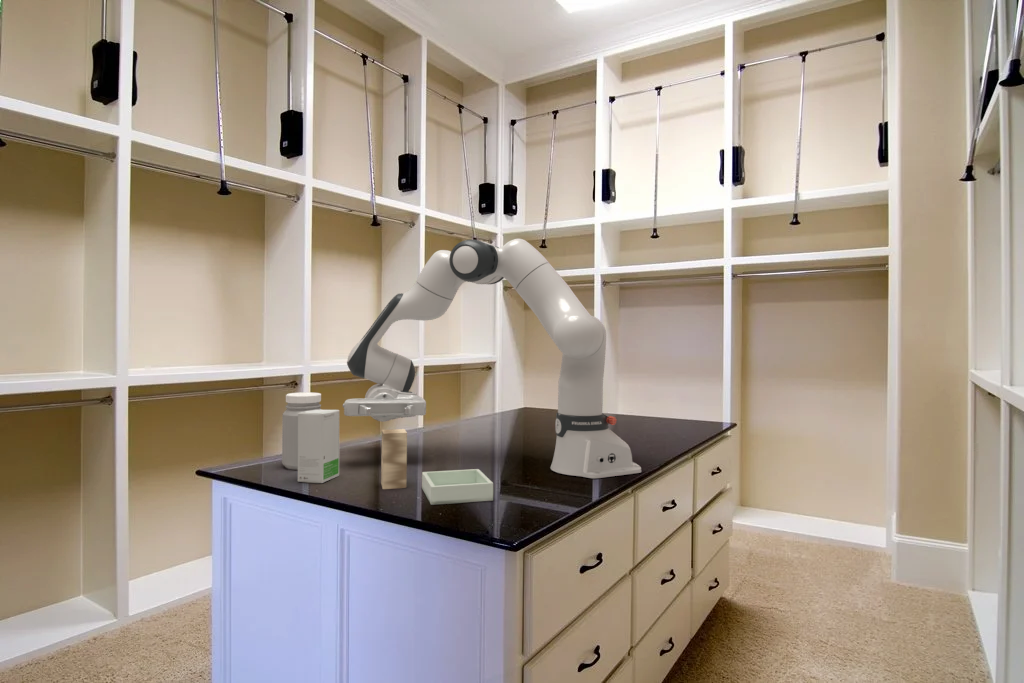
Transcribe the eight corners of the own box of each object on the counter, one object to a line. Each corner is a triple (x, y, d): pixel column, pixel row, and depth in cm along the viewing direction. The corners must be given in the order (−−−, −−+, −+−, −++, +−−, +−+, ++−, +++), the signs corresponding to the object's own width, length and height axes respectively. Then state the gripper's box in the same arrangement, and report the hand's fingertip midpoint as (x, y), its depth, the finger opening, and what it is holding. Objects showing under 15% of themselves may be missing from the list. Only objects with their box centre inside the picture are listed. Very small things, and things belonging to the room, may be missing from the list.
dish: (478, 484, 130) (478, 468, 130) (493, 500, 118) (493, 483, 118) (421, 488, 126) (422, 472, 126) (431, 504, 114) (431, 487, 114)
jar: (291, 461, 150) (292, 391, 150) (329, 462, 150) (329, 392, 150) (275, 470, 140) (275, 395, 140) (315, 471, 140) (315, 396, 140)
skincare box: (321, 484, 128) (322, 413, 128) (294, 482, 129) (295, 412, 129) (340, 475, 136) (341, 409, 136) (314, 473, 138) (315, 407, 137)
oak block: (403, 482, 131) (404, 429, 131) (406, 487, 126) (407, 432, 126) (381, 483, 130) (381, 429, 129) (382, 489, 125) (383, 433, 125)
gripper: (342, 392, 151) (343, 398, 137) (421, 392, 156) (429, 398, 143) (342, 416, 151) (342, 425, 137) (421, 415, 157) (429, 423, 143)
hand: (387, 411), depth 140 cm, fingers open, 8 cm apart
